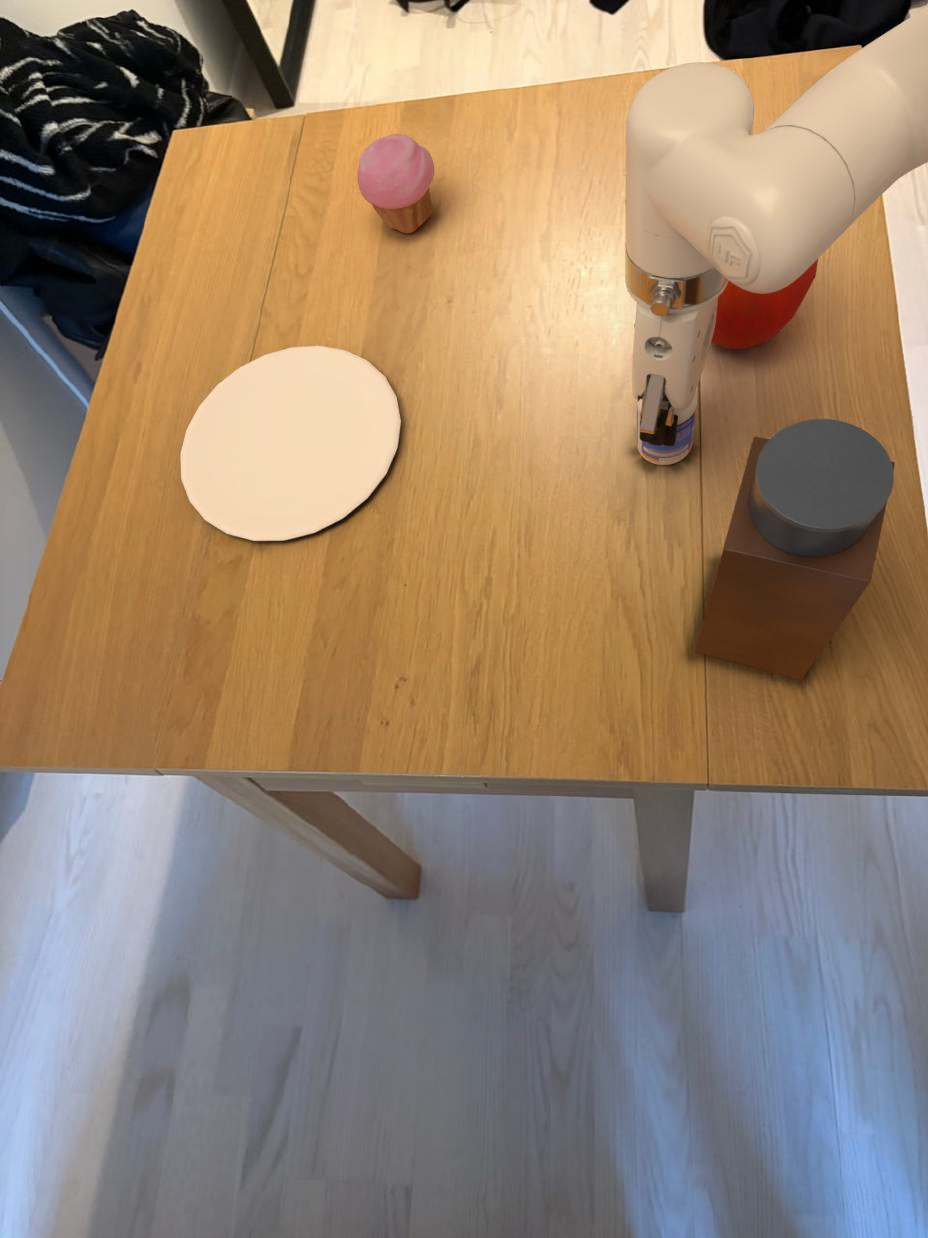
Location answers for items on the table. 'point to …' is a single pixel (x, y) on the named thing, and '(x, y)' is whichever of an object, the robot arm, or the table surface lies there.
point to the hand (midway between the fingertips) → (666, 412)
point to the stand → (780, 593)
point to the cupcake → (397, 181)
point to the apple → (757, 312)
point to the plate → (290, 443)
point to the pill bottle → (683, 436)
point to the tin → (819, 487)
